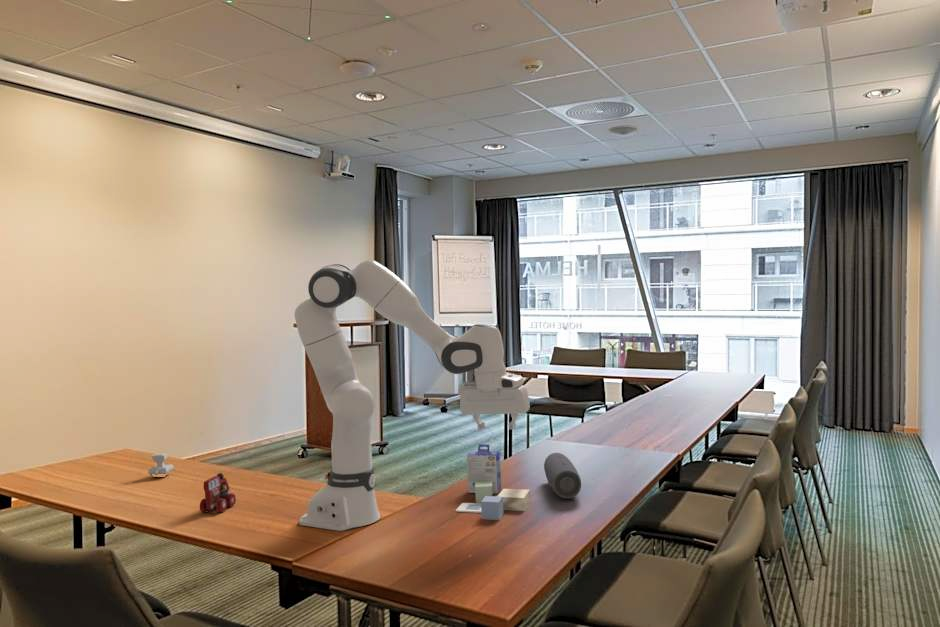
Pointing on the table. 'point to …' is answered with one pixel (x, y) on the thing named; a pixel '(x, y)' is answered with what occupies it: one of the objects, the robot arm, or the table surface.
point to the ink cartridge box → (484, 468)
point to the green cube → (482, 490)
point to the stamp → (160, 465)
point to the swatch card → (469, 507)
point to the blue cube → (492, 507)
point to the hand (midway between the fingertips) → (496, 429)
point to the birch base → (515, 499)
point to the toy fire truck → (217, 494)
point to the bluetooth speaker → (562, 475)
